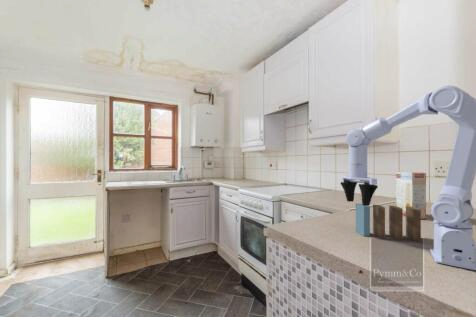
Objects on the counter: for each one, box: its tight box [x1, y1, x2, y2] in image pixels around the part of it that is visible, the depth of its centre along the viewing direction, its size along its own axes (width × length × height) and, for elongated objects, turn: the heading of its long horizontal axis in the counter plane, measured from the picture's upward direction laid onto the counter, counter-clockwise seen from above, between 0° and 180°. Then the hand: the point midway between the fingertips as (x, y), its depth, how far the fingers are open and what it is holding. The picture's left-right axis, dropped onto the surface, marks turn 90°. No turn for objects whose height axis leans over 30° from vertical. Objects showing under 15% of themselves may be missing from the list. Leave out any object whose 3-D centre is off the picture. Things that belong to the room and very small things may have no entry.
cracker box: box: [395, 171, 427, 220], centre depth 104 cm, size 14×6×21 cm, turn 168°
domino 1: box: [355, 203, 371, 237], centre depth 76 cm, size 2×5×10 cm, turn 1°
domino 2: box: [372, 204, 386, 239], centre depth 75 cm, size 2×5×10 cm, turn 165°
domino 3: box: [388, 204, 404, 240], centre depth 73 cm, size 2×5×10 cm, turn 165°
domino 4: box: [405, 206, 422, 242], centre depth 72 cm, size 2×5×10 cm, turn 165°
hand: (357, 203), depth 76 cm, fingers open, 7 cm apart
